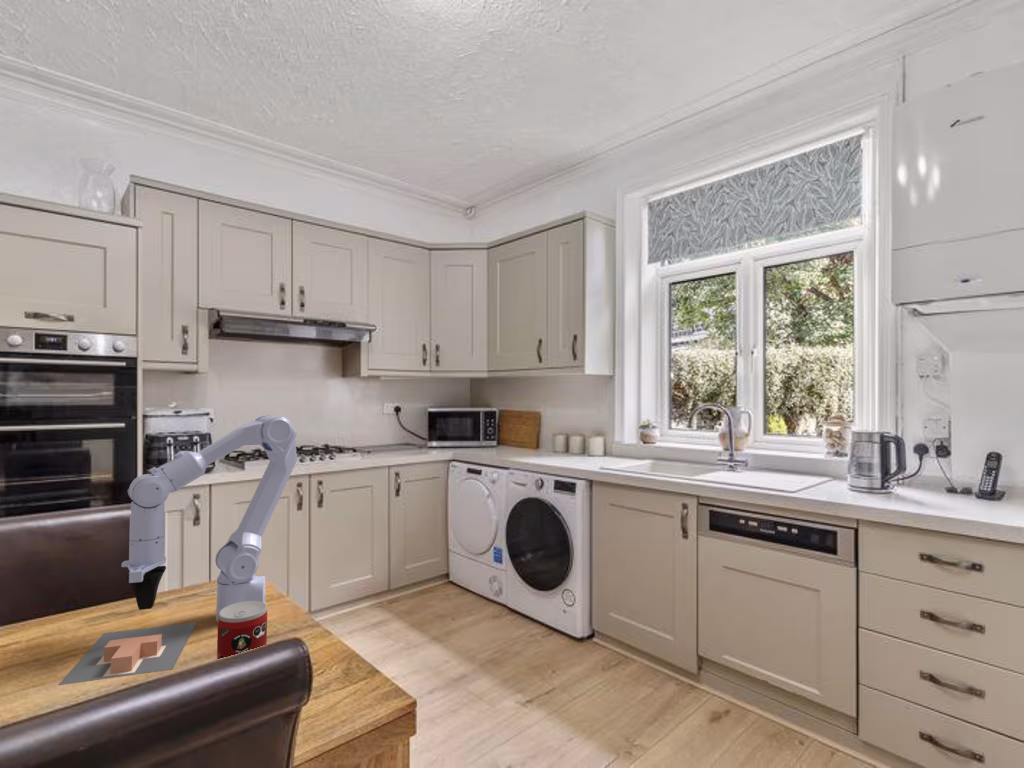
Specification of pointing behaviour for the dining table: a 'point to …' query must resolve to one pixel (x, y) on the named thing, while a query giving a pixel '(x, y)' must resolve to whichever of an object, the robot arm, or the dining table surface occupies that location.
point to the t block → (130, 651)
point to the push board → (164, 660)
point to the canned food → (241, 628)
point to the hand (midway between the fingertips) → (146, 608)
